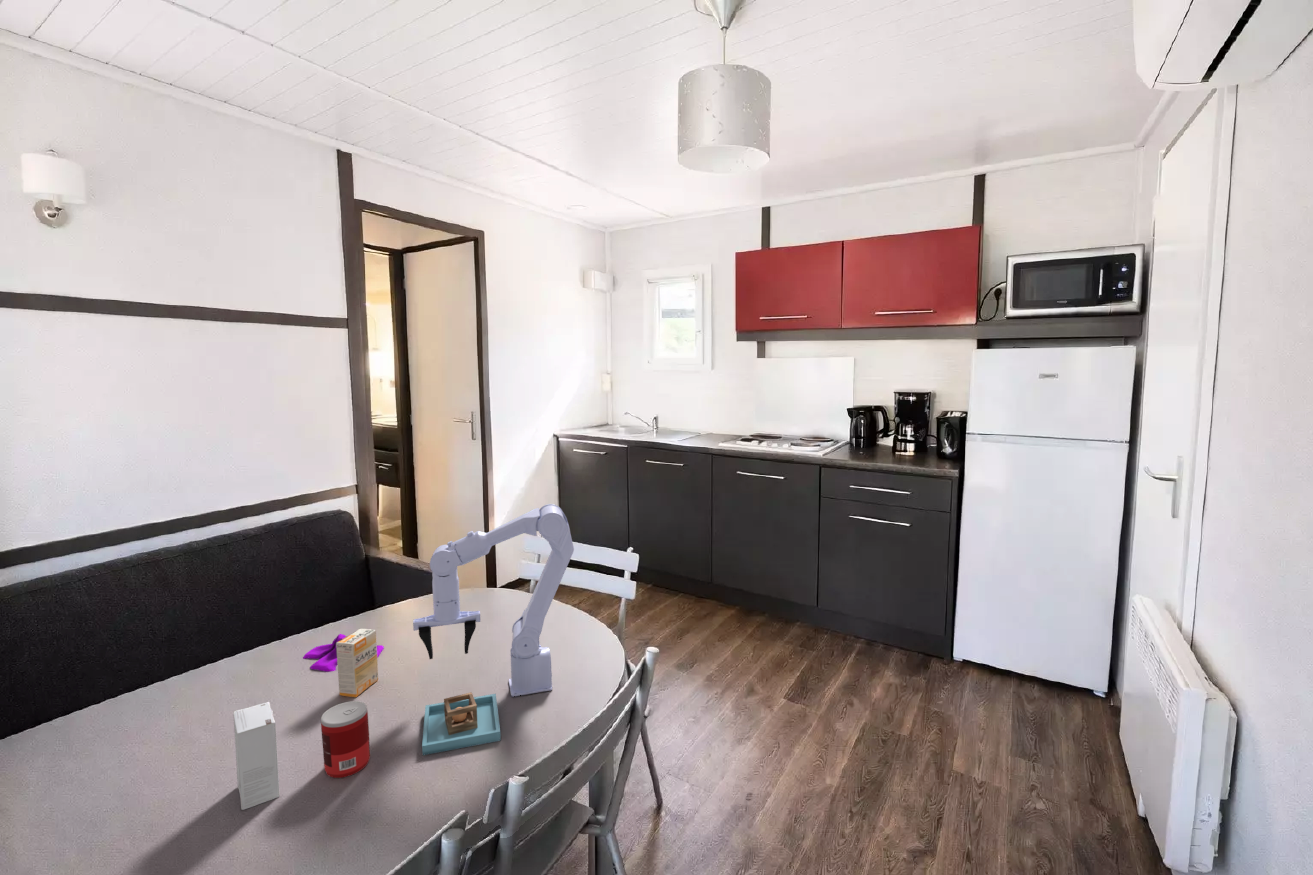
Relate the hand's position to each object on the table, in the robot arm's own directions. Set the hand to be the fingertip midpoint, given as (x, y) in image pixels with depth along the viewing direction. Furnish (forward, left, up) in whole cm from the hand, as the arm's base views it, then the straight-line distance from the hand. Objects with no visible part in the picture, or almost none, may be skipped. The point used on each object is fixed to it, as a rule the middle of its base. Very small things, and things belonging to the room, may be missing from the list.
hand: (448, 654), depth 139 cm
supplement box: (+21, -10, -10) cm, 25 cm away
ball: (-2, +14, -7) cm, 16 cm away
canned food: (+19, +20, -10) cm, 29 cm away
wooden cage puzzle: (-2, +14, -9) cm, 17 cm away
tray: (-2, +14, -10) cm, 17 cm away
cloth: (+27, -31, -11) cm, 43 cm away
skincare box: (+33, +23, -10) cm, 41 cm away
